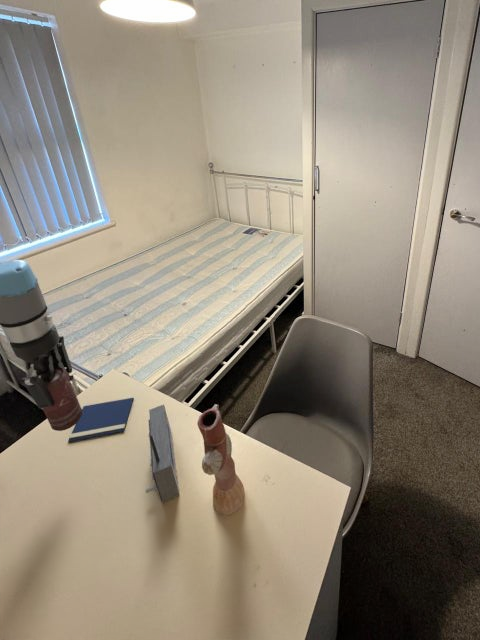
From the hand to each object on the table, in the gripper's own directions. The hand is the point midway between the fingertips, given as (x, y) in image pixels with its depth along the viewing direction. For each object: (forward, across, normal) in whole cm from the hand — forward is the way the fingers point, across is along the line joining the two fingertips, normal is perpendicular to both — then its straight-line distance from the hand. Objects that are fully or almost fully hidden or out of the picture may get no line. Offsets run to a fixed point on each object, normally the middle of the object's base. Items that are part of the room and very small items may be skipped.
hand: (67, 410), depth 75 cm
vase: (+19, -18, -35) cm, 43 cm away
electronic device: (+19, -6, -19) cm, 27 cm away
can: (+2, -1, 0) cm, 2 cm away
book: (+19, +12, 0) cm, 22 cm away
